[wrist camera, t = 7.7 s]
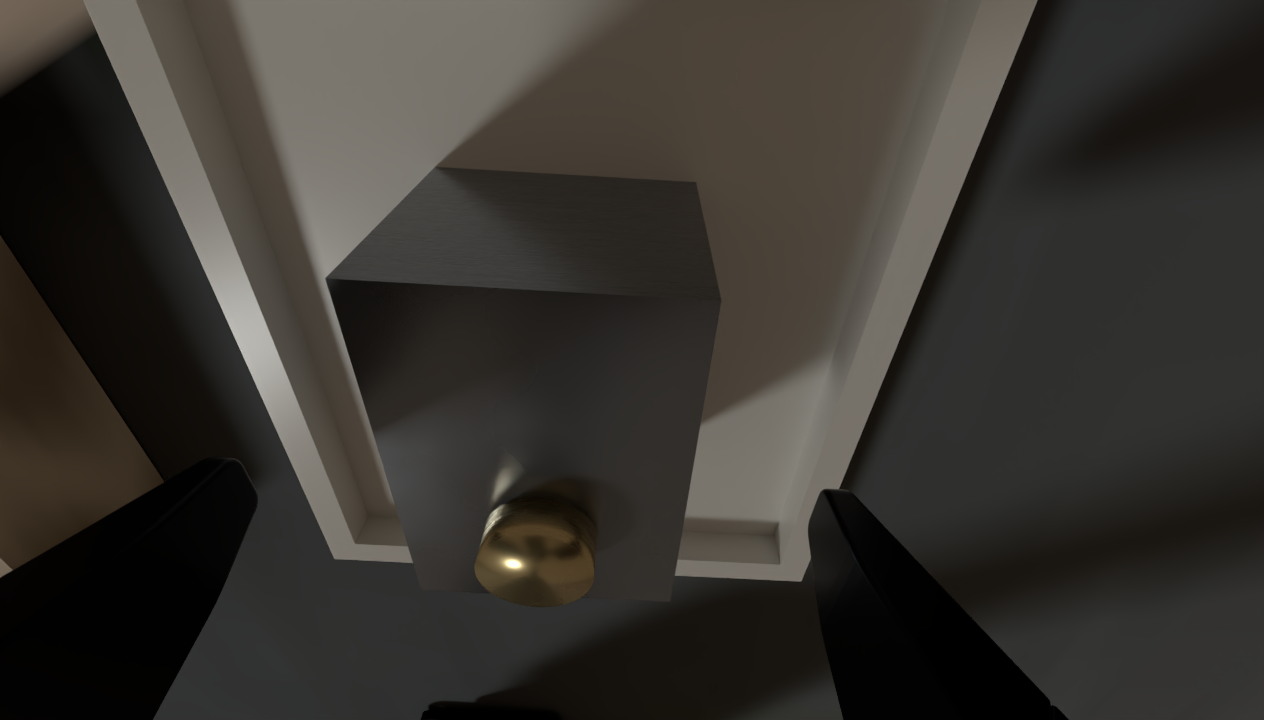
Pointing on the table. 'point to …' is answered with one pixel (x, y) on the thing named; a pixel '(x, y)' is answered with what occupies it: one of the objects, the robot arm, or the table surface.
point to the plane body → (54, 431)
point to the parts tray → (590, 146)
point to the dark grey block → (536, 377)
